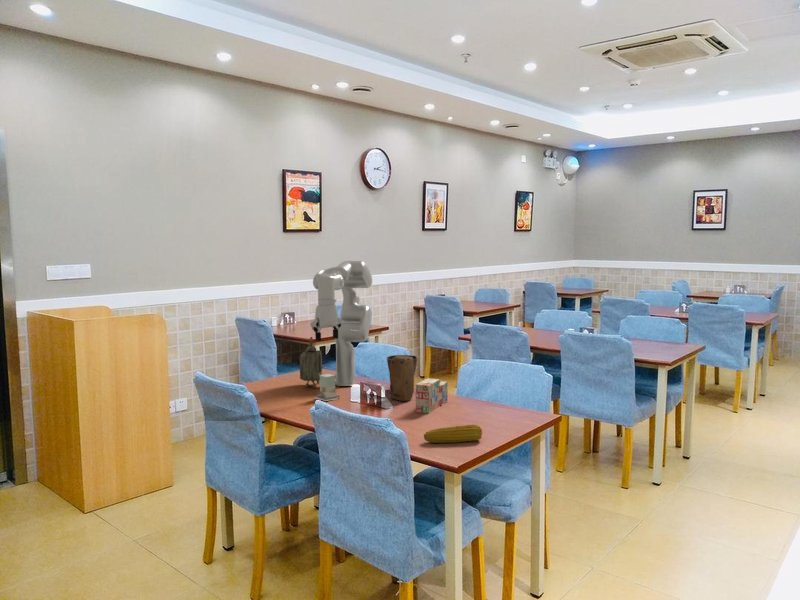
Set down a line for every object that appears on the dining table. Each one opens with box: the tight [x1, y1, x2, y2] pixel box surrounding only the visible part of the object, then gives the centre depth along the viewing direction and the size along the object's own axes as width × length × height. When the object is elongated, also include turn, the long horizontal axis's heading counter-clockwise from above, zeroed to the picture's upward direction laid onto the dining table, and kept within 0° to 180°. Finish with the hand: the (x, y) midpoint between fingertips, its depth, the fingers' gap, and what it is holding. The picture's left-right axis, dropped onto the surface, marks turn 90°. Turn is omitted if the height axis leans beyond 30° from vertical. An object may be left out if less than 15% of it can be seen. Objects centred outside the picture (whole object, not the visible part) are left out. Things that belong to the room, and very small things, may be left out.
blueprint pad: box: [314, 393, 341, 402], centre depth 269 cm, size 8×8×2 cm
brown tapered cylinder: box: [389, 354, 415, 402], centre depth 267 cm, size 11×8×20 cm
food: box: [423, 424, 483, 444], centre depth 208 cm, size 21×6×6 cm, turn 100°
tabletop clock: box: [299, 336, 323, 390], centre depth 292 cm, size 14×9×25 cm, turn 0°
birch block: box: [319, 385, 336, 398], centre depth 268 cm, size 5×5×5 cm
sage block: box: [319, 373, 336, 388], centre depth 268 cm, size 5×5×5 cm
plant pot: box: [386, 354, 418, 376], centre depth 285 cm, size 15×15×16 cm
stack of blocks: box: [415, 377, 449, 414], centre depth 254 cm, size 21×6×12 cm, turn 154°
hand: (327, 339), depth 266 cm, fingers open, 9 cm apart
